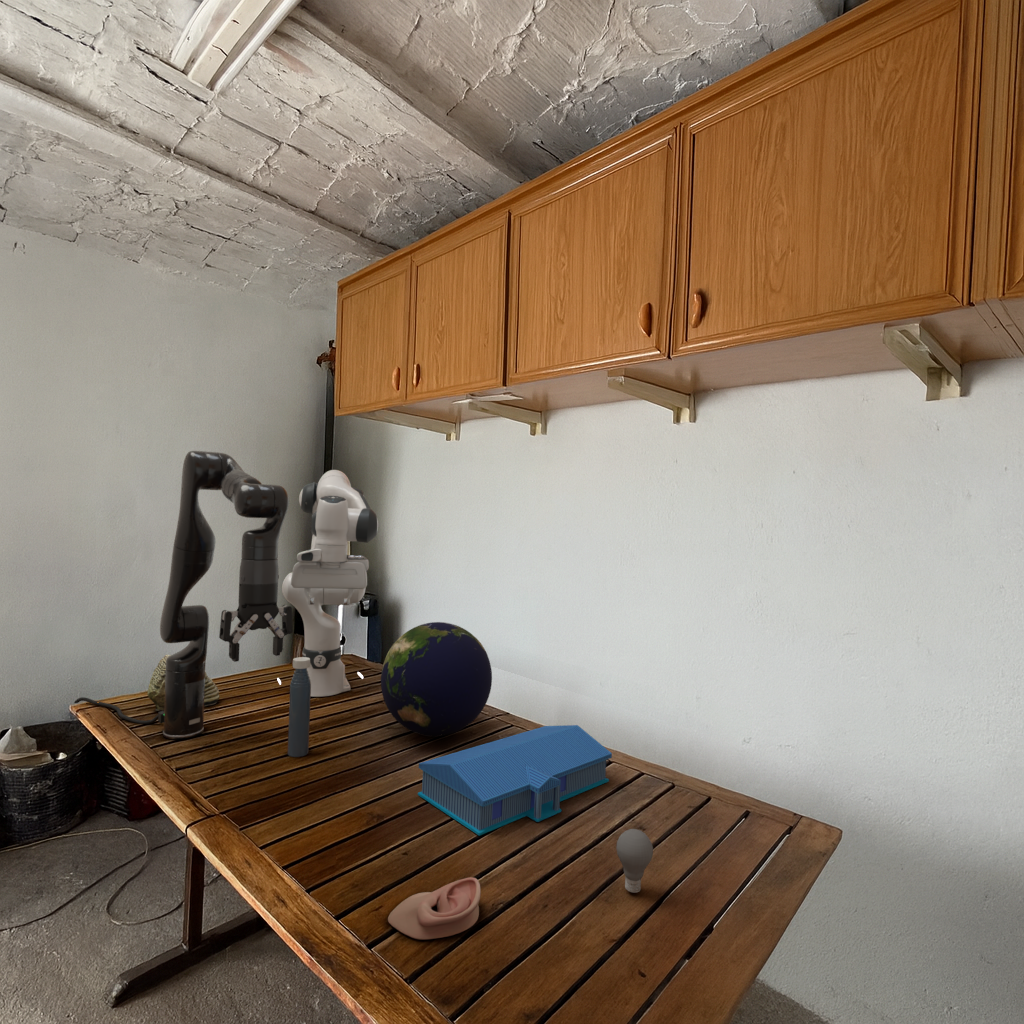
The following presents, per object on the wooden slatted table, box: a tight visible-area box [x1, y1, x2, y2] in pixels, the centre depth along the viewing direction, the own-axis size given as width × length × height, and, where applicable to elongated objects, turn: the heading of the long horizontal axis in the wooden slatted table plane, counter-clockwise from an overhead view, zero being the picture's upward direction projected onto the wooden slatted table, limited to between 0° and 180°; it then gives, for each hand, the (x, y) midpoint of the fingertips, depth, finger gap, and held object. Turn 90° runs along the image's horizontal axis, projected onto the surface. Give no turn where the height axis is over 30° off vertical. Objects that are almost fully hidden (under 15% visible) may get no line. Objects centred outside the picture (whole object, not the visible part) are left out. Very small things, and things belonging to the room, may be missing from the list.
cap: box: [292, 656, 310, 669], centre depth 155 cm, size 4×4×2 cm
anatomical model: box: [387, 877, 482, 940], centre depth 97 cm, size 13×4×12 cm
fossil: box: [147, 654, 221, 712], centre depth 185 cm, size 9×18×15 cm, turn 132°
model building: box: [417, 724, 613, 837], centre depth 140 cm, size 39×24×10 cm, turn 132°
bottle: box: [287, 668, 312, 758], centre depth 155 cm, size 5×5×23 cm
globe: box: [380, 621, 493, 737], centre depth 172 cm, size 30×30×30 cm
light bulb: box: [615, 828, 654, 894], centre depth 106 cm, size 6×6×10 cm
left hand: (256, 657), depth 132 cm, fingers open, 8 cm apart
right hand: (328, 604), depth 175 cm, fingers open, 8 cm apart
